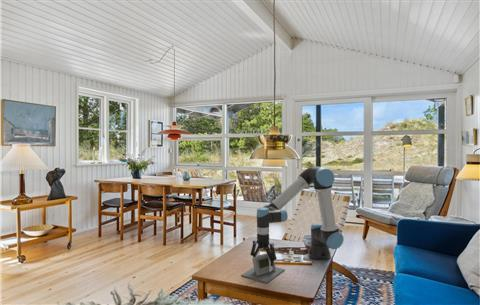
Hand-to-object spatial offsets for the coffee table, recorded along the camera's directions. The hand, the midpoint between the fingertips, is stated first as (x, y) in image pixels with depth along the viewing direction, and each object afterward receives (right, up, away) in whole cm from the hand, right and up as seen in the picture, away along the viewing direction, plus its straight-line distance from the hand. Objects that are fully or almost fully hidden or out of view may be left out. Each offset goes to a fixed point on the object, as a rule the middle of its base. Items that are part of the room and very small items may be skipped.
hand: (263, 269), depth 200 cm
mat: (0, -3, 0) cm, 3 cm away
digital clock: (+1, -2, 0) cm, 2 cm away
